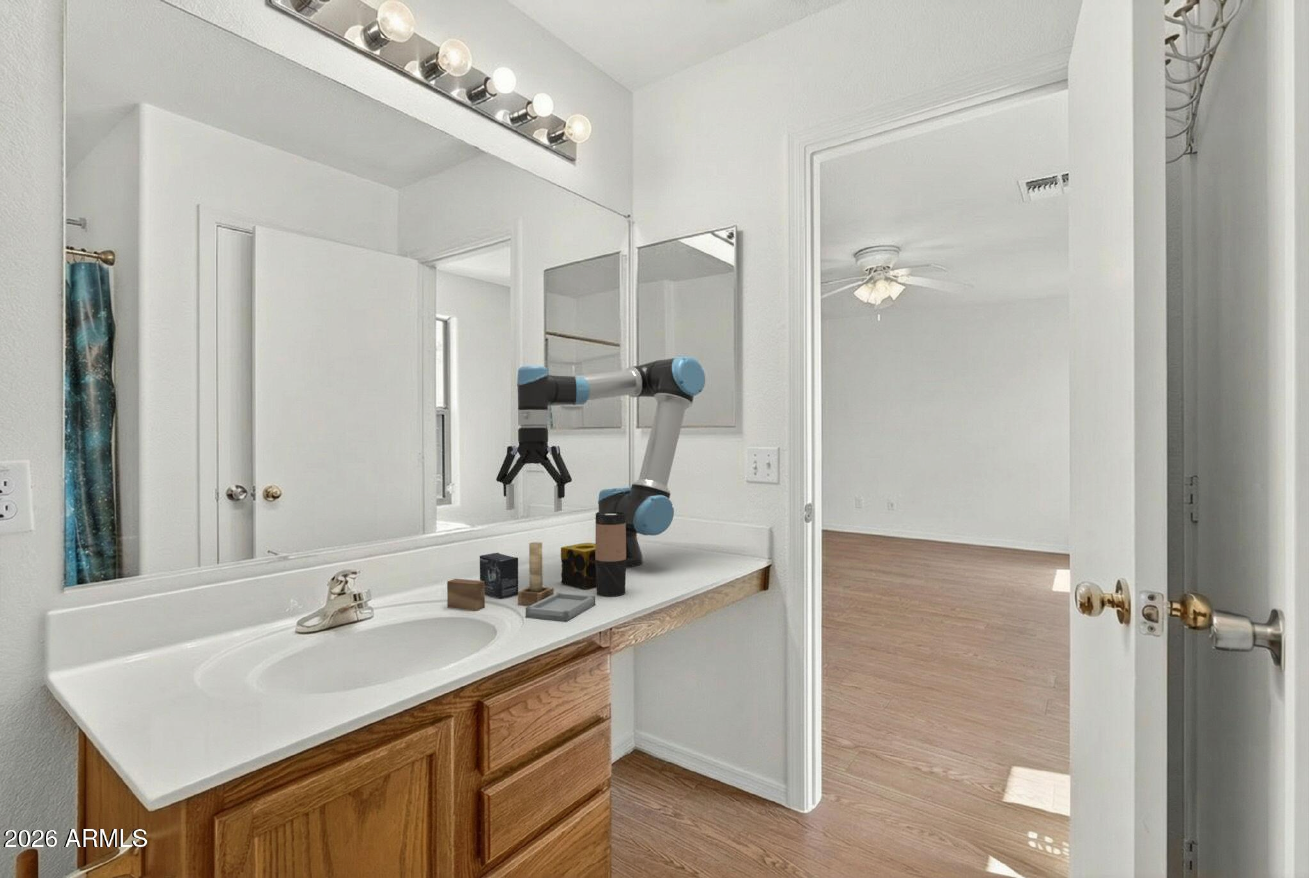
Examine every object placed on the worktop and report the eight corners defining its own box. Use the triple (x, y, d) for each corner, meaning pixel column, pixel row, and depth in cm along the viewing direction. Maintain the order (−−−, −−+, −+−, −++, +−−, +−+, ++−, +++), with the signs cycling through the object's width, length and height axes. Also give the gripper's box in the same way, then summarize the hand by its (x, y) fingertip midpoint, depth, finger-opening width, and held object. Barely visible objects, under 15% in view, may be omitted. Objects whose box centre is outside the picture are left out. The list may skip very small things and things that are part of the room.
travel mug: (621, 597, 152) (621, 515, 152) (591, 596, 154) (591, 514, 154) (629, 590, 160) (629, 511, 160) (600, 588, 161) (600, 510, 161)
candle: (614, 583, 167) (614, 546, 167) (585, 590, 160) (585, 551, 160) (589, 577, 174) (589, 541, 174) (560, 584, 167) (560, 546, 167)
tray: (557, 600, 150) (557, 592, 150) (595, 604, 146) (595, 596, 146) (525, 617, 137) (525, 607, 137) (566, 621, 133) (566, 612, 133)
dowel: (533, 600, 150) (533, 541, 150) (544, 601, 149) (544, 542, 149) (527, 603, 147) (526, 544, 147) (538, 604, 146) (537, 544, 146)
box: (478, 593, 158) (478, 555, 158) (497, 588, 162) (497, 552, 162) (499, 599, 151) (499, 560, 151) (519, 595, 155) (519, 556, 155)
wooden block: (455, 604, 147) (455, 578, 147) (484, 607, 144) (484, 581, 144) (447, 607, 144) (447, 581, 144) (476, 610, 142) (476, 584, 142)
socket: (531, 598, 152) (531, 585, 152) (553, 600, 150) (553, 587, 150) (518, 604, 147) (518, 591, 147) (540, 606, 144) (540, 593, 144)
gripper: (482, 427, 160) (483, 510, 161) (571, 426, 153) (572, 513, 153) (498, 427, 168) (498, 507, 168) (584, 426, 160) (584, 509, 160)
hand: (533, 510), depth 161 cm, fingers open, 13 cm apart
